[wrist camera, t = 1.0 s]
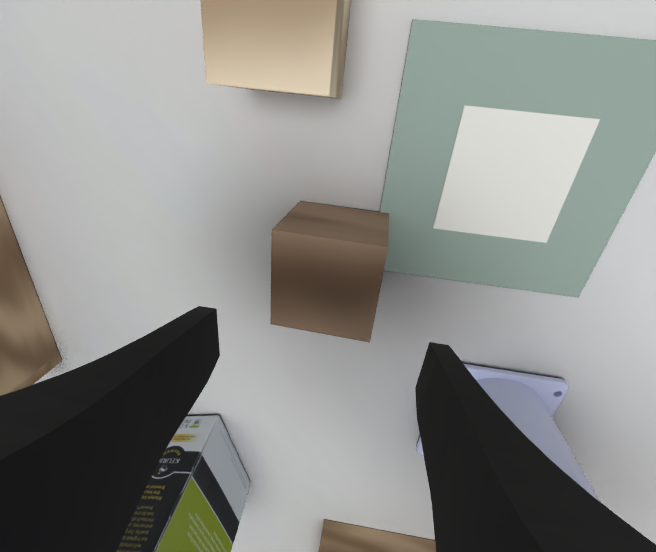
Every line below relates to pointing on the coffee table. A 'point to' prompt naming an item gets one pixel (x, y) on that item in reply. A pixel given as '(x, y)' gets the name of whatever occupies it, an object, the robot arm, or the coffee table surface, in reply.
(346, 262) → the walnut block
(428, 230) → the build mat
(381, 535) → the camera crate
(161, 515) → the tea box
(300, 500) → the coffee table surface
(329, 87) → the maple block
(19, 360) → the box
